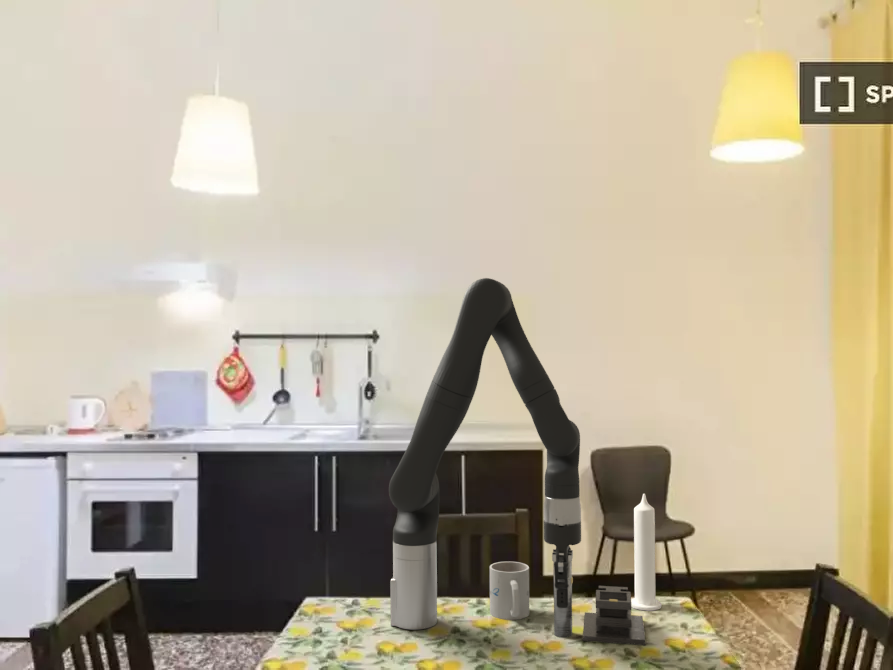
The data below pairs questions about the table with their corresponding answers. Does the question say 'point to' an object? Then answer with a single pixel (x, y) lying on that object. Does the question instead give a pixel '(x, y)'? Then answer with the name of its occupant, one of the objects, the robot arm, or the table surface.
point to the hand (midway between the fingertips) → (562, 603)
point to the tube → (563, 612)
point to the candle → (644, 557)
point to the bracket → (613, 618)
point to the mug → (509, 590)
